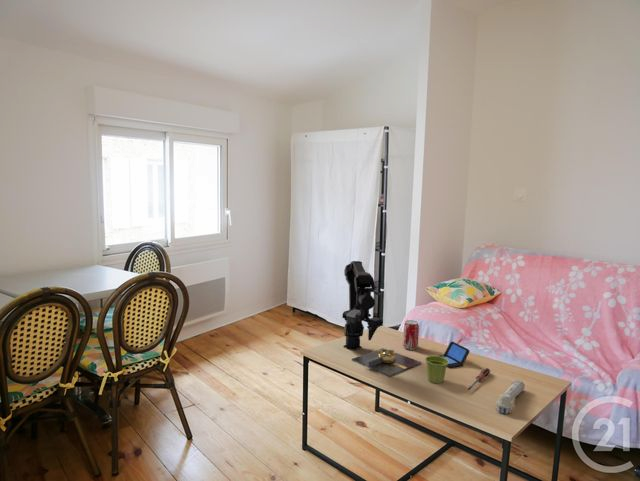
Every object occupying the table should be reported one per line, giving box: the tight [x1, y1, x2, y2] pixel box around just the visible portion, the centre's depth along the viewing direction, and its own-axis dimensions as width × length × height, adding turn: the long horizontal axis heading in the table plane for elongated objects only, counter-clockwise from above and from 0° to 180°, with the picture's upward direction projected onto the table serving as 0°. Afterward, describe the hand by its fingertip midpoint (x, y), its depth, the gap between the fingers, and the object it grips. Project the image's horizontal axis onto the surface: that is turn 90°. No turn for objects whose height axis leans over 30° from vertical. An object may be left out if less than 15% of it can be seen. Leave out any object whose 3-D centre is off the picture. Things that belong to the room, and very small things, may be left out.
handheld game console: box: [438, 341, 470, 369], centre depth 199 cm, size 12×11×7 cm
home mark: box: [393, 363, 407, 369], centre depth 192 cm, size 6×2×1 cm, turn 42°
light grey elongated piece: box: [495, 380, 525, 415], centre depth 164 cm, size 5×7×25 cm
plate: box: [351, 347, 423, 377], centre depth 198 cm, size 22×22×1 cm
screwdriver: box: [466, 367, 491, 391], centre depth 179 cm, size 25×3×3 cm, turn 142°
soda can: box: [402, 319, 420, 351], centre depth 215 cm, size 7×7×13 cm
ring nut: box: [364, 348, 397, 369], centre depth 194 cm, size 17×8×4 cm, turn 132°
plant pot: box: [424, 355, 449, 384], centre depth 179 cm, size 9×9×9 cm
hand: (361, 337), depth 194 cm, fingers open, 9 cm apart
